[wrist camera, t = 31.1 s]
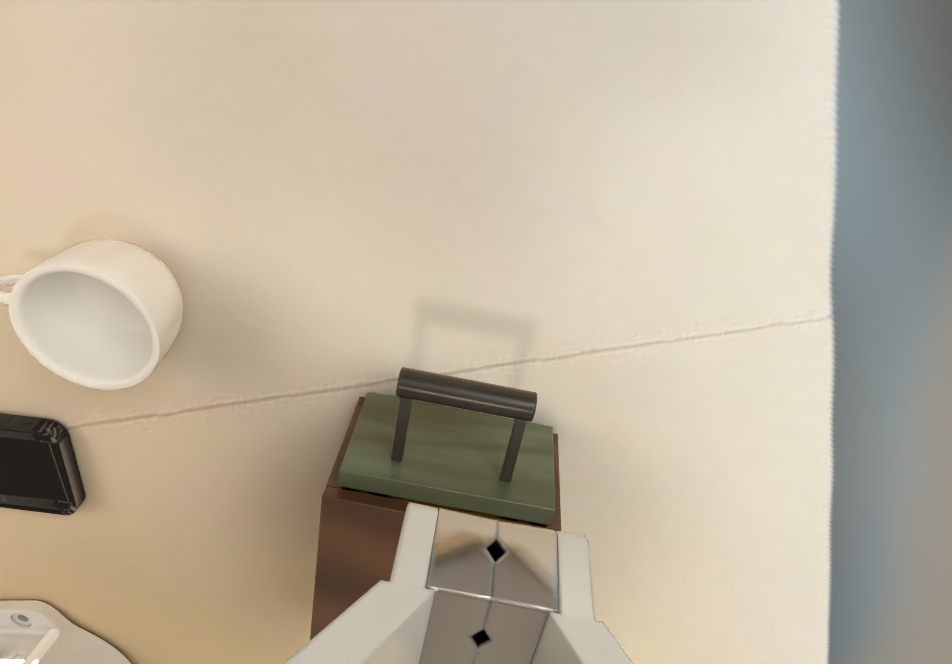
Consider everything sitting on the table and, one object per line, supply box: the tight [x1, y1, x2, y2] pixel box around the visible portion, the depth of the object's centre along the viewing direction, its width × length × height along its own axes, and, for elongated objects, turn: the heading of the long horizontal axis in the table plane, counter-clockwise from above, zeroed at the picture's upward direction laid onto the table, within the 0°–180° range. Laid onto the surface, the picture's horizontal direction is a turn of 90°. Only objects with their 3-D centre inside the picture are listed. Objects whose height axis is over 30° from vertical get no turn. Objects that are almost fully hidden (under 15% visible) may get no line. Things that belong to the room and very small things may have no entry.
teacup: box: [0, 239, 183, 390], centre depth 38 cm, size 10×8×5 cm
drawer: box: [338, 367, 555, 525], centre depth 42 cm, size 20×12×7 cm, turn 170°
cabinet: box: [310, 397, 561, 640], centre depth 44 cm, size 15×13×9 cm
